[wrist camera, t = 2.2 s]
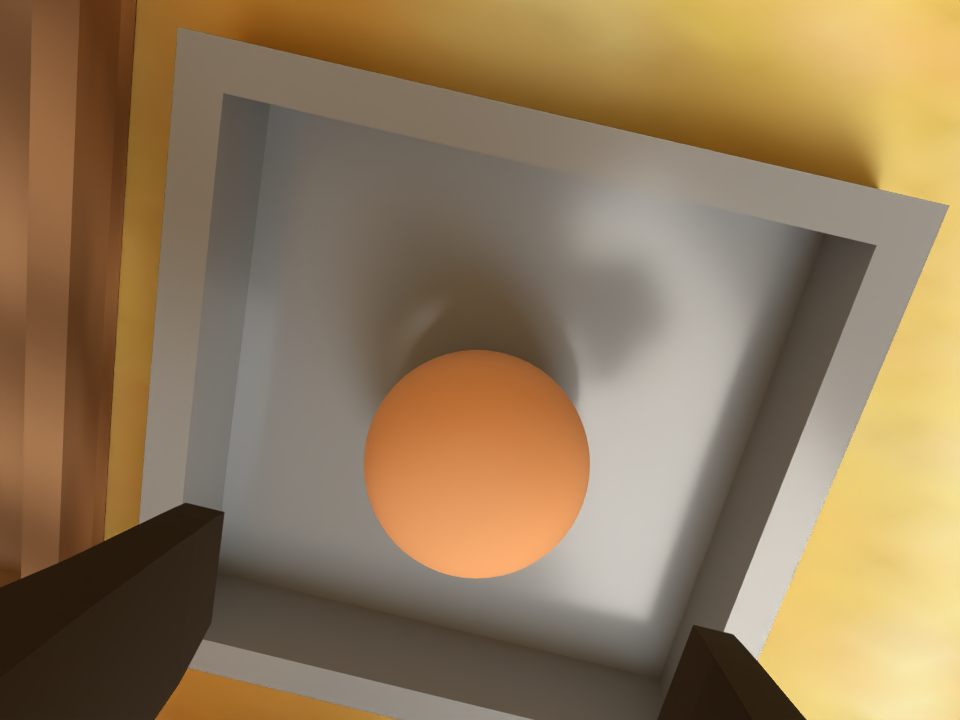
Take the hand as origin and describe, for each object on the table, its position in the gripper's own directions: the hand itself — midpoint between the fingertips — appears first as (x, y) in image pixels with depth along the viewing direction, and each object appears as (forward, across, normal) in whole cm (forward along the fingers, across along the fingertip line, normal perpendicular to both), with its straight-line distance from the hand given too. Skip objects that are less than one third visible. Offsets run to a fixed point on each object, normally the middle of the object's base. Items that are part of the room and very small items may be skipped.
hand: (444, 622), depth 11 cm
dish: (+8, 0, 0) cm, 9 cm away
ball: (+6, 0, 0) cm, 6 cm away
